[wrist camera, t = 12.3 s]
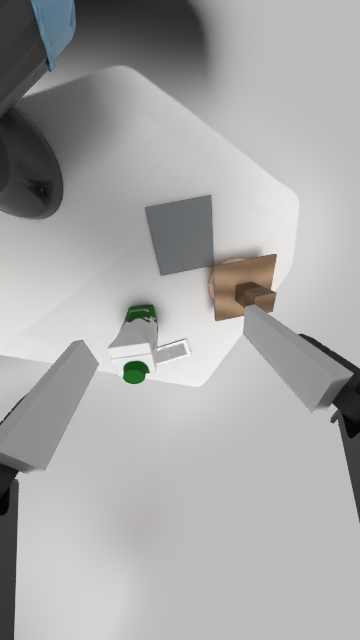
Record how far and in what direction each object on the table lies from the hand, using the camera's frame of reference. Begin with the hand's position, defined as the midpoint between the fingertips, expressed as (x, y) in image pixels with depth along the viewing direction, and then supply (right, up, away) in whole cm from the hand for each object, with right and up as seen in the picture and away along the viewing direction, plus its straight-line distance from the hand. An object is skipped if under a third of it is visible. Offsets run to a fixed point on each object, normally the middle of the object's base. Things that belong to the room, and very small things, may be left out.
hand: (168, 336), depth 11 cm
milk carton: (-10, +2, +31) cm, 33 cm away
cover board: (+16, +9, +23) cm, 30 cm away
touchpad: (-3, -10, +40) cm, 41 cm away
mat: (+2, +21, +22) cm, 30 cm away
